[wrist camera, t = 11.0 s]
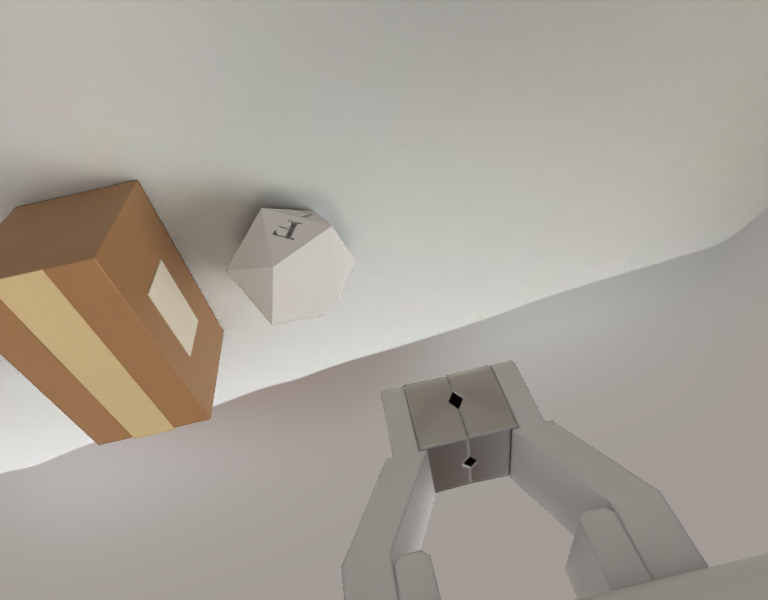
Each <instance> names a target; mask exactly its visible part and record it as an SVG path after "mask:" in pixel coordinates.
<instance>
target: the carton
mask: <svg viewBox="0 0 768 600" xmlns="http://www.w3.org/2000/svg"><path fill="white" fill-rule="evenodd" d="M223 333H224V332H223V330H222V328H221V326H220V325H219V323H218V321H217V319H216V318H215V316H214V314H213V312H212V311H211V309H210V307H209V305H208V303H207V302H206V300H205V298H204V296H203V295H202V293H201V291H200V289H199V288H198V286H197V284H196V282H195V280H194V279H193V277H192V275H191V273H190V272H189V270H188V268H187V266H186V264H185V263H184V261H183V259H182V257H181V256H180V254H179V252H178V250H177V249H176V247H175V245H174V243H173V241H172V240H171V238H170V236H169V234H168V233H167V231H166V229H165V227H164V226H163V224H162V222H161V220H160V218H159V217H158V215H157V213H156V211H155V210H154V208H153V206H152V204H151V202H150V201H149V199H148V197H147V195H146V194H145V192H144V190H143V188H142V187H141V185H140V183H139V181H138V180H135V181H131V182H126V183H122V184H118V185H113V186H109V187H104V188H100V189H95V190H91V191H86V192H82V193H77V194H73V195H69V196H64V197H60V198H55V199H51V200H46V201H42V202H37V203H33V204H28V205H24V206H20V207H16V208H15V209H14V210H13V211H12V212H11V213H10V214H9V215H8V216H7V217H6V219H5V220H4V221H3V222H2V223H1V224H0V354H1V355H2V356H3V357H4V358H5V359H6V360H7V361H9V362H10V363H11V364H12V365H13V366H14V367H15V368H16V369H17V370H18V371H19V372H20V373H22V374H23V375H24V376H25V377H26V378H27V379H28V380H29V381H30V382H31V383H32V384H33V385H34V386H36V387H37V388H38V389H39V390H40V391H41V392H42V393H43V394H44V395H45V396H46V397H47V398H48V399H50V400H51V401H52V402H53V403H54V404H55V405H56V406H57V407H58V408H59V409H60V410H61V411H62V412H64V413H65V414H66V415H67V416H68V417H69V418H70V419H71V420H72V421H73V422H74V423H75V424H76V425H78V426H79V427H80V428H81V429H82V430H83V431H84V432H85V433H86V434H87V435H88V436H89V437H90V438H92V439H93V440H94V441H95V442H96V443H97V444H98V445H101V444H106V443H110V442H115V441H119V440H123V439H127V438H132V437H134V438H135V439H136V438H140V437H145V436H148V435H153V434H157V433H162V432H166V431H170V430H174V429H175V427H179V426H183V425H187V424H191V423H196V422H200V421H205V420H209V419H210V418H211V411H212V405H213V399H214V392H215V386H216V379H217V372H218V366H219V359H220V353H221V346H222V340H223Z"/></svg>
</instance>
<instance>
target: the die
mask: <svg viewBox="0 0 768 600" xmlns="http://www.w3.org/2000/svg"><path fill="white" fill-rule="evenodd" d="M355 262H356V261H355V259H354V258H353V256H352V255H351V253H350V252H349V250H348V249H347V247H346V246H345V244H344V243H343V241H342V240H341V238H340V237H339V235H338V234H337V232H336V231H335V229H334V228H333V226H332V225H331V224H329V223H328V222H327V221H326V220H324V219H323V218H322V217H321V216H320V215H318V214H317V213H316V212H315V211H305V210H298V211H297V210H288V209H270V208H261V210H260V211H259V213H258V215H257V217H256V218H255V220H254V222H253V224H252V225H251V227H250V229H249V231H248V232H247V234H246V236H245V238H244V239H243V241H242V243H241V245H240V246H239V248H238V250H237V252H236V253H235V255H234V257H233V259H232V260H231V262H230V264H229V266H228V267H227V269H226V271H227V272H228V273H229V275H230V276H231V277H232V278H233V279H234V281H235V282H236V283H237V284H238V285H239V287H240V288H241V289H242V290H243V291H244V293H245V294H246V295H247V296H248V297H249V298H250V300H251V301H252V302H253V303H254V304H255V306H256V307H257V308H258V309H259V310H260V312H261V313H262V314H263V315H264V316H265V318H266V319H267V320H268V321H269V322H270V323H271V325H277V324H282V323H287V322H292V321H297V320H302V319H307V318H312V317H317V316H322V315H323V314H324V313H325V312H326V311H327V310H328V309H329V308H330V307H331V306H332V305H333V304H334V303H335V302H336V301H337V300H338V298H339V296H340V294H341V292H342V289H343V287H344V285H345V283H346V281H347V279H348V277H349V275H350V272H351V270H352V268H353V266H354V264H355Z"/></svg>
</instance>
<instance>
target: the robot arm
mask: <svg viewBox="0 0 768 600" xmlns="http://www.w3.org/2000/svg"><path fill="white" fill-rule="evenodd" d="M381 398H382V404H383V409H384V413H385V419H386V424H387V430H388V435H389V440H390V445H391V450H392V455H393V457H392V458H389V459H386V461H385V463H384V466H383V469H382V471H381V473H380V475H379V478H378V480H377V483H376V485H375V488H374V490H373V492H372V495H371V497H370V499H369V502H368V504H367V507H366V509H365V512H364V514H363V516H362V519H361V521H360V523H359V526H358V528H357V531H356V533H355V536H354V538H353V540H352V543H351V545H350V548H349V550H348V553H347V555H346V557H345V560H344V562H343V564H342V579H343V592H344V600H441V597H440V593H439V589H438V585H437V581H436V577H435V572H434V569H433V564H432V561H431V556H430V555H428V554H427V553H425V552H424V551H422V550H421V546H422V543H423V539H424V536H425V532H426V528H427V525H428V521H429V517H430V514H431V510H432V507H433V502H434V499H435V493H437V492H440V491H445V490H448V489H452V488H456V487H460V486H463V485H467V484H471V483H475V482H480V481H485V480H490V479H495V478H500V477H504V476H509V475H510V478H511V479H512V480H513V481H515V482H516V483H517V484H518V485H519V486H520V487H521V488H522V489H523V490H524V491H526V492H527V493H528V494H529V495H530V496H531V497H532V498H533V499H534V500H535V501H537V502H538V503H539V504H540V505H541V506H542V507H543V508H544V509H545V510H546V511H548V512H549V513H550V514H551V515H552V516H553V517H554V518H555V519H556V520H557V521H559V522H560V523H561V524H562V525H563V526H564V527H565V528H566V529H567V530H568V531H569V532H570V533H572V534H573V535H574V540H573V543H572V547H571V549H570V553H569V556H568V560H567V563H566V566H565V570H566V572H567V575H568V577H569V580H570V582H571V585H572V587H573V589H574V592H575V594H576V597H577V600H768V553H766V554H762V555H758V556H754V557H750V558H746V559H742V560H737V561H733V562H729V563H725V564H721V565H717V566H713V567H709V566H708V565H707V563H706V562H705V560H704V558H703V557H702V555H701V554H700V552H699V551H698V549H697V548H696V546H695V544H694V543H693V541H692V540H691V539H690V537H689V535H688V534H687V532H686V531H685V529H684V528H683V526H682V524H681V523H680V521H679V520H678V518H677V517H676V515H675V513H674V512H673V510H672V509H671V507H670V506H669V505H668V503H667V501H666V499H665V498H664V496H663V495H662V493H661V492H660V491H659V490H657V489H655V488H654V487H653V486H651V485H650V484H648V483H647V482H645V481H643V480H642V479H640V478H639V477H637V476H636V475H634V474H633V473H631V472H630V471H628V470H627V469H625V468H624V467H622V466H621V465H619V464H618V463H616V462H615V461H613V460H612V459H610V458H609V457H607V456H605V455H604V454H602V453H601V452H599V451H598V450H596V449H595V448H593V447H591V446H590V445H589V444H587V443H586V442H584V441H583V440H581V439H580V438H578V437H576V436H575V435H574V434H572V433H571V432H569V431H567V430H566V429H564V428H563V427H561V426H560V425H558V424H557V423H555V422H554V421H552V420H551V421H546V422H545V420H544V419H543V417H542V415H541V413H540V411H539V409H538V407H537V405H536V403H535V401H534V399H533V397H532V395H531V393H530V391H529V389H528V387H527V385H526V383H525V382H524V380H523V378H522V376H521V374H520V372H519V370H518V368H517V366H516V364H515V363H514V362H513V361H507V362H502V363H498V364H494V365H490V366H488V365H487V366H484V367H479V368H475V369H472V370H467V371H463V372H459V373H455V374H451V375H447V376H446V377H443V378H437V379H432V380H428V381H423V382H418V383H413V384H408V385H404V388H403V386H399V387H394V388H390V389H385V390H381Z"/></svg>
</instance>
